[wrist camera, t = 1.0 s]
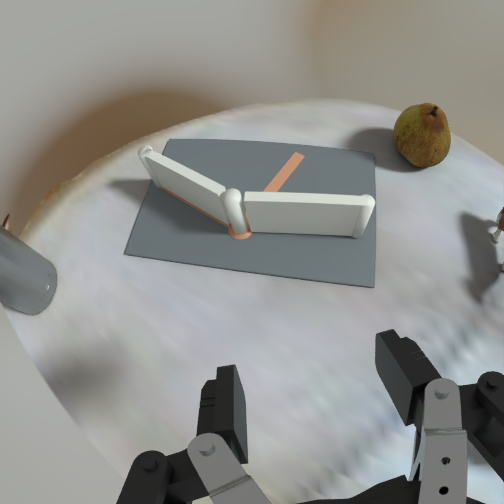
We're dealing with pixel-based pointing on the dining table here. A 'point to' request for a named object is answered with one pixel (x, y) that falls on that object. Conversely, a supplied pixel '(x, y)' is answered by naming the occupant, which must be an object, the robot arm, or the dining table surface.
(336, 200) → the fence gate
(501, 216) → the bull figurine
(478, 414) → the robot arm
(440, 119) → the fruit
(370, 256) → the card
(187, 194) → the fence fixed
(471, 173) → the dining table surface
